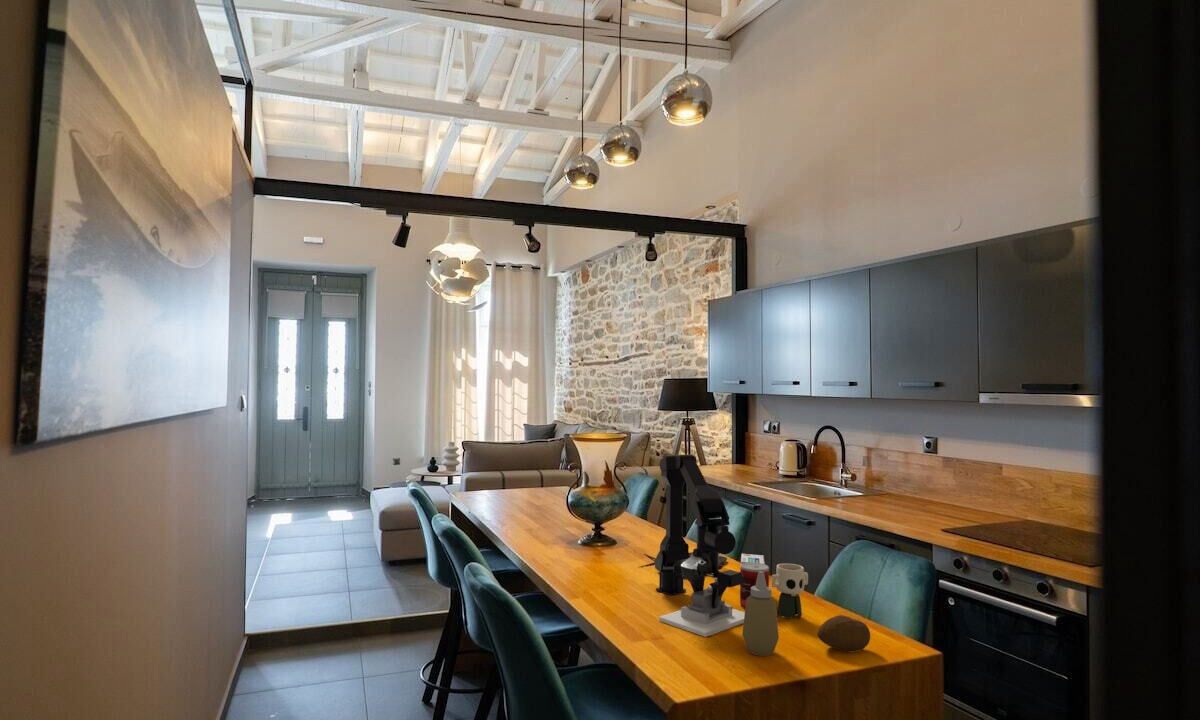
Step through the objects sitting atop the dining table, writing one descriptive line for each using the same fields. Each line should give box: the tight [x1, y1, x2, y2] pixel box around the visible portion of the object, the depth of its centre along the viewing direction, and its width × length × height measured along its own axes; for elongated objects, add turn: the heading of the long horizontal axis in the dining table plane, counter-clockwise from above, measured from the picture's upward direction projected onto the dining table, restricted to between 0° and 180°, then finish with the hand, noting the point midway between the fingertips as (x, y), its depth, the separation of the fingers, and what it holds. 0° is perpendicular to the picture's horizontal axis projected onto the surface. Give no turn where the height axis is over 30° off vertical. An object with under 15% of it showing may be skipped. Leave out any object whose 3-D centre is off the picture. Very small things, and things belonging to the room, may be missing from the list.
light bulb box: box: [740, 553, 766, 565], centre depth 205 cm, size 11×7×11 cm, turn 168°
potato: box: [816, 614, 871, 652], centre depth 164 cm, size 8×12×8 cm, turn 103°
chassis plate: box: [658, 603, 745, 638], centre depth 183 cm, size 15×20×3 cm
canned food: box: [739, 563, 770, 609], centre depth 195 cm, size 8×8×11 cm
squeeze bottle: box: [742, 572, 780, 657], centre depth 162 cm, size 8×8×18 cm
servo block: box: [687, 585, 726, 617], centre depth 183 cm, size 4×10×7 cm, turn 133°
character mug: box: [771, 563, 809, 619], centre depth 187 cm, size 11×7×13 cm, turn 108°
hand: (706, 606), depth 183 cm, fingers open, 5 cm apart
